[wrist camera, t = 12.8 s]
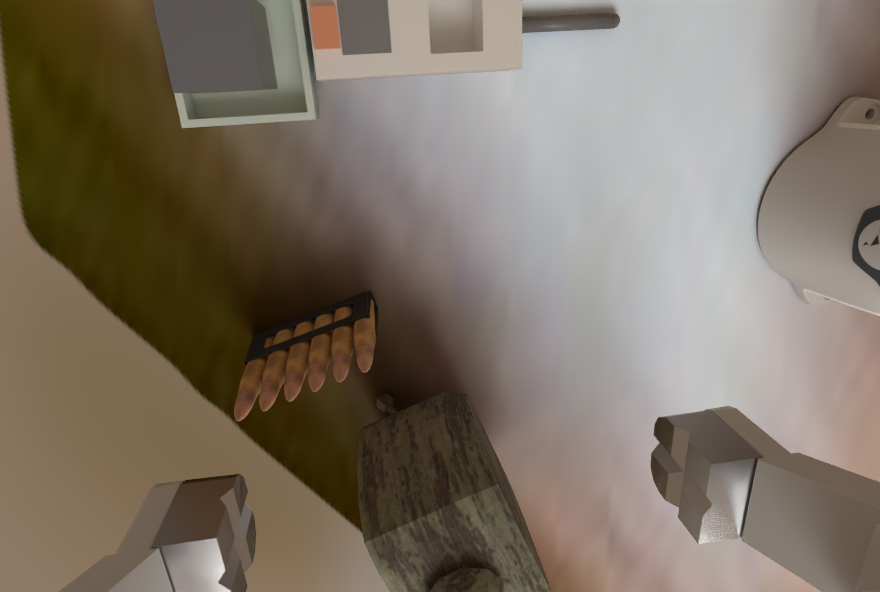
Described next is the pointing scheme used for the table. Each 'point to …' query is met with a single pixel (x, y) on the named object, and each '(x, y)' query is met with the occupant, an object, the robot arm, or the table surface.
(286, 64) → the parts tray
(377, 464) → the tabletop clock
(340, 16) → the power strip
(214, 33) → the block
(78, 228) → the table surface
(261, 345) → the ammunition clip
